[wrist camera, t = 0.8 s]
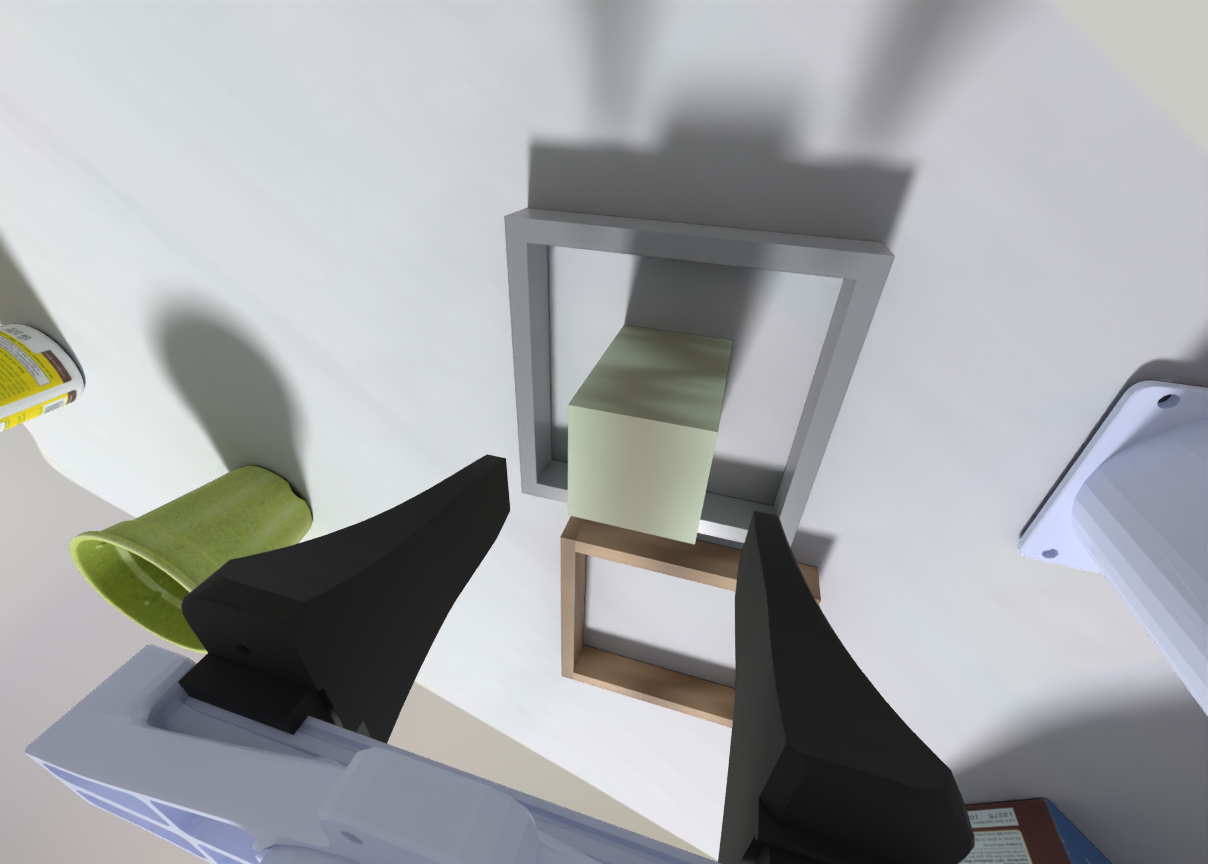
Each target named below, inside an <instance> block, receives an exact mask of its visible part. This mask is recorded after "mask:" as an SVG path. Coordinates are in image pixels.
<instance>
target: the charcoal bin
mask: <svg viewBox="0 0 1208 864" xmlns="http://www.w3.org/2000/svg"><path fill="white" fill-rule="evenodd" d="M504 219H505V235H506V251H507V266H508V282H509V298H510V313H511V329H512V345H513V361H514V376H515V392H516V408H517V423H518V439H519V455H520V470H521V486H522V493H525V494H530V495H534V496H538V497H543V498H547V499H552V500H556V501H561V502H565V503H568V463H564V462H560V461H555V460H552V454H551V402H550V350H549V299H548V247H547V245H552V246H561V247H570V248H578V249H587V250H596V251H605V252H614V253H623V254H631V255H640V256H649V257H658V258H667V259H676V260H685V261H693V262H702V263H711V264H720V265H729V266H738V267H746V268H755V269H764V270H773V271H782V272H791V273H800V274H808V275H817V276H826V277H835V278H844V281H843V284H842V287H841V291H840V294H839V297H838V300H837V303H836V307H835V310H834V313H833V316H832V320H831V323H830V326H829V329H828V332H827V336H826V339H825V342H824V345H823V349H822V352H821V355H820V358H819V361H818V365H817V368H816V371H815V374H814V377H813V381H812V384H811V387H810V390H809V394H808V397H807V400H806V403H805V406H804V410H803V413H802V416H801V419H800V423H799V426H798V429H797V432H796V435H795V439H794V442H793V445H792V448H791V452H790V455H789V458H788V461H787V464H786V468H785V471H784V474H783V477H782V481H781V484H780V487H779V490H778V493H777V497H776V500H775V503H774V506H770V505H765V504H761V503H756V502H751V501H746V500H741V499H737V498H732V497H727V496H722V495H717V494H713V493H708V492H706V493H705V498H704V503H703V508H702V512H701V517H700V522H699V527H698V532H697V533H702V534H706V535H711V536H715V537H719V538H724V539H728V540H733V541H737V542H741V543H745V539H746V536H747V532H748V529H749V525H750V522H751V518H752V514H753V511H758V512H762V513H767V514H772V515H777V516H778V517H779V519H780V520H781V524H782V527H783V530H784V532H785V535H786V538H787V540H788V543H789V545H790V548H791V545H792V542H793V539H794V536H795V534H796V531H797V528H798V525H799V523H800V520H801V517H802V514H803V511H804V509H805V506H806V503H807V500H808V497H809V495H810V492H811V489H812V486H813V483H814V481H815V478H816V475H817V472H818V469H819V467H820V464H821V461H822V458H823V455H824V453H825V450H826V447H827V444H828V441H829V439H830V436H831V433H832V430H833V428H834V425H835V422H836V419H837V416H838V414H839V411H840V408H841V405H842V402H843V400H844V397H845V394H846V391H847V388H848V386H849V383H850V380H851V377H852V374H853V372H854V369H855V366H856V363H857V360H858V358H859V355H860V352H861V349H862V346H863V344H864V341H865V338H866V335H867V333H868V330H869V327H870V324H871V321H872V319H873V316H874V313H875V310H876V307H877V305H878V302H879V299H880V296H881V293H882V291H883V288H884V285H885V282H886V279H887V277H888V274H889V271H890V268H891V265H892V263H893V260H894V257H895V256H894V255H893V254H892V253H891V251H890V250H889V249H888V248H887V247H886V246H885V245H884V244H883V243H882V242H873V241H862V240H852V239H842V238H832V237H821V236H811V235H801V234H790V233H780V232H770V231H760V230H749V229H739V228H729V227H719V226H708V225H698V224H688V223H677V222H667V221H657V220H647V219H636V218H626V217H616V216H606V215H595V214H585V213H575V212H564V211H554V210H544V209H534V208H525V209H523V210H520V211H517V212H515V213H512V214H509V215H506V216H504Z"/></svg>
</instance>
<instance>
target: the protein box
mask: <svg viewBox="0 0 1208 864" xmlns="http://www.w3.org/2000/svg"><path fill="white" fill-rule="evenodd" d="M965 807H966V809H967V812H968V816H969V819H970V822H971V826H972V829H973V833H974V837H975V847H974V848H973V849H972V851H971V852H970V853H969V855H968V856H967V857H966V858H965V859H964V860H962V861H961V862H960V863H959V864H1111V863H1110V862H1109V861H1108V860H1107V859H1106V858H1105V856H1104V855H1103V854H1102V853H1101V852H1100V851H1099V850H1098V849H1097V848H1096V847H1095V846H1094V845H1093V844H1092V843H1091V842H1090V841H1089V840H1088V839H1087V838H1086V837H1085V836H1084V835H1083V834H1082V833H1081V832H1080V831H1079V830H1078V829H1077V828H1076V827H1075V826H1074V825H1073V824H1072V823H1071V822H1070V821H1069V820H1068V819H1067V818H1066V817H1065V816H1064V815H1063V814H1062V813H1061V812H1060V811H1059V810H1058V809H1057V808H1056V807H1055V806H1054V805H1053V804H1052V803H1051V802H1050V801H1049V800H1047V799H1032V800H1023V801H1011V802H1000V803H990V804H980V805H970V806H965Z"/></svg>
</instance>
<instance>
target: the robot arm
mask: <svg viewBox="0 0 1208 864" xmlns="http://www.w3.org/2000/svg"><path fill="white" fill-rule="evenodd" d="M1169 394H1172V395H1171V397H1170V398H1169V399H1168V400H1167V401H1164V402H1162V403H1158V401H1159V399H1161V398H1162V397H1163V396H1166V395H1169ZM509 512H510V502H509V490H508V478H507V466H506V458H501V457H496V456H492V455H486V456H484V457H482V458H480V459H478V460H477V461H475V462H473V463H472V464H470V465H468V466H467V467H465V468H463V469H462V470H460V471H458V472H457V473H455V474H454V475H452V476H450V477H448V478H447V479H445V480H443V481H442V482H440V483H438V484H437V485H435V486H433V487H431V488H430V489H428V490H426V491H424V492H422V493H420V494H419V495H417V496H415V497H413V498H411V499H409V500H407V501H405V502H404V503H402V504H400V505H398V506H396V507H394V508H392V509H390V510H387V511H385V512H383V513H381V514H379V515H376V516H374V517H372V518H369V519H367V520H365V521H362V522H360V523H357V524H355V525H352V526H349V527H346V528H344V529H341V530H338V531H335V532H333V533H330V534H327V535H324V536H321V537H318V538H315V539H312V540H308V541H305V542H302V543H298V544H295V545H291V546H287V547H284V548H280V549H276V550H272V551H268V552H263V553H259V554H254V555H250V556H245V557H241V558H236V559H231V560H229V561H228V562H226V563H225V564H224V565H223V566H221V567H220V568H219V569H218V570H217V571H215V572H214V573H213V574H212V575H211V576H209V577H208V578H207V579H206V580H204V581H203V582H202V583H201V584H200V585H198V586H197V587H196V588H195V589H193V590H192V591H191V592H190V593H189V594H187V595H186V596H185V597H184V598H183V601H182V605H181V608H182V613H183V616H184V617H185V619H186V621H187V623H188V624H189V626H190V627H191V629H192V630H193V632H194V633H195V635H196V636H197V637H198V639H199V640H200V642H201V643H202V645H203V646H204V648H205V649H206V651H207V652H208V654H207V655H206V656H205V657H204V658H203V659H201V660H200V661H199V662H198V663H197V664H196V663H195V662H194V661H192V660H191V659H189V658H187V657H185V656H183V655H181V654H178V653H175V652H172V651H169V650H167V649H164V648H161V647H158V646H155V645H152V644H151V645H146V646H145V647H144V648H143V649H142V650H140V651H139V652H138V653H137V654H136V655H135V656H133V657H132V658H131V659H130V660H129V661H128V662H126V663H125V664H124V665H123V666H122V667H120V668H119V669H118V670H117V671H116V672H114V674H112V675H111V676H110V677H109V678H107V679H106V680H105V681H104V682H103V683H102V684H101V685H99V686H98V687H97V688H96V689H94V690H93V691H92V692H91V693H90V694H89V695H87V696H86V697H85V698H84V699H83V700H81V701H80V702H79V703H78V704H77V705H76V706H74V707H73V708H72V709H71V710H70V711H69V712H67V713H66V714H65V715H64V716H63V717H62V718H60V719H59V720H58V721H57V722H56V723H54V724H53V725H52V726H51V727H50V728H48V729H47V730H46V731H45V732H44V733H43V734H41V735H40V736H39V737H38V738H37V739H36V740H34V741H33V742H32V743H31V744H30V745H28V746H27V747H26V750H25V754H27V755H28V756H29V757H31V758H32V759H33V760H34V761H36V762H37V763H38V764H39V765H41V766H42V767H43V768H45V769H46V770H47V771H49V772H50V773H51V774H52V775H54V776H55V777H56V778H57V779H59V780H60V781H61V782H62V783H64V784H65V785H66V786H68V787H69V788H70V789H72V790H73V791H74V792H75V793H77V794H78V795H79V796H80V797H82V798H83V799H84V800H85V801H87V802H88V803H90V804H91V805H93V806H96V807H98V808H100V809H102V810H105V811H106V812H109V813H111V814H113V815H115V816H117V817H120V818H122V819H124V820H126V821H128V822H130V823H132V824H134V825H136V826H138V827H140V828H142V829H144V830H146V831H148V832H150V833H152V834H154V835H156V836H158V837H161V838H162V839H164V840H166V841H168V842H170V843H172V844H174V845H176V846H178V847H180V848H182V849H184V850H186V851H188V852H190V853H192V854H194V855H195V856H198V857H199V858H201V859H203V860H205V861H207V862H209V863H211V864H959V863H960V862H961V861H962V860H964V859H965V858H966V857H967V856H968V855H969V853H970V852H971V851H972V849H973V848H974V847H975V837H974V833H973V829H972V826H971V822H970V819H969V816H968V812H967V809H966V807H965V804H964V801H963V799H962V796H961V794H960V791H959V789H958V786H957V784H956V781H955V779H954V777H953V774H952V771H951V770H950V769H949V768H948V767H947V766H946V765H945V764H944V763H943V762H942V761H941V760H940V759H939V758H938V757H937V756H936V755H935V754H934V753H933V752H932V750H931V749H930V748H929V747H928V746H927V745H926V744H925V743H924V742H923V741H922V740H921V739H920V738H919V737H918V736H917V735H916V734H915V733H914V732H913V731H912V730H911V729H910V728H909V727H908V726H907V725H906V724H905V722H904V721H903V720H902V719H901V718H900V717H899V716H898V714H897V713H896V712H895V711H894V710H893V709H892V708H891V707H890V705H889V704H888V703H887V702H886V701H885V700H884V698H883V697H882V696H881V695H880V693H879V692H878V691H877V689H876V688H875V687H874V686H873V684H872V683H871V682H870V681H869V679H868V678H867V677H866V676H865V674H864V673H863V672H862V671H861V669H860V668H859V667H858V665H857V664H856V663H855V661H854V660H853V658H852V657H851V655H850V654H849V653H848V651H847V650H846V648H845V647H844V646H843V644H842V643H841V641H840V639H839V638H838V636H837V635H836V633H835V632H834V630H833V629H832V627H831V626H830V624H829V622H828V621H827V619H826V617H825V616H824V614H823V612H822V611H821V609H820V607H819V605H818V603H817V602H816V600H815V598H814V596H813V594H812V592H811V590H810V589H809V587H808V585H807V583H806V581H805V579H804V576H803V574H802V572H801V570H800V568H799V566H798V564H797V562H796V560H795V557H794V555H793V553H792V550H791V548H790V545H789V543H788V540H787V538H786V535H785V532H784V530H783V527H782V524H781V520H780V519H779V517H778V516H777V515H772V514H767V513H762V512H758V511H753V514H752V518H751V522H750V525H749V529H748V532H747V536H746V539H745V543H744V546H743V550H742V553H741V557H740V560H739V565H738V574H737V583H736V593H735V656H736V683H735V701H734V713H733V724H732V736H731V746H730V757H729V767H728V777H727V786H726V796H725V805H724V815H723V824H722V832H721V841H720V850H719V859H718V862H715V861H713V860H710V859H707V858H704V857H702V856H699V855H696V854H693V853H690V852H688V851H685V850H682V849H679V848H676V847H674V846H671V845H668V844H665V843H662V842H659V841H657V840H654V839H651V838H648V837H645V836H643V835H640V834H637V833H635V832H632V831H629V830H626V829H623V828H621V827H617V826H615V825H612V824H609V823H607V822H604V821H601V820H598V819H595V818H593V817H590V816H587V815H584V814H581V813H579V812H576V811H573V810H570V809H568V808H565V807H562V806H559V805H556V804H553V803H551V802H548V801H545V800H542V799H540V798H537V797H534V796H531V795H528V794H526V793H523V792H520V791H517V790H514V789H511V788H509V787H506V786H503V785H501V784H498V783H495V782H492V781H489V780H487V779H484V778H481V777H478V776H475V775H473V774H469V773H467V772H464V771H461V770H458V769H456V768H453V767H450V766H447V765H445V764H442V763H439V762H436V761H433V760H431V759H428V758H425V757H422V756H419V755H417V754H414V753H411V752H408V751H406V750H403V749H400V748H397V747H394V746H391V745H389V744H387V742H388V740H389V737H390V735H391V732H392V730H393V728H394V725H395V723H396V721H397V718H398V716H399V713H400V711H401V709H402V707H403V705H404V702H405V700H406V698H407V696H408V694H409V691H410V689H411V687H412V685H413V683H414V681H415V678H416V676H417V674H418V672H419V670H420V668H421V666H422V664H423V662H424V660H425V658H426V656H427V654H428V652H429V650H430V647H431V645H432V643H433V641H434V639H435V638H436V636H437V634H438V632H439V630H440V628H441V626H442V624H443V622H444V620H445V618H446V617H447V615H448V613H449V611H450V609H451V608H452V606H453V604H454V603H455V601H456V599H457V598H458V596H459V595H460V593H461V592H462V590H463V589H464V587H465V586H466V584H467V583H468V581H469V580H470V578H471V577H472V575H473V574H474V572H475V571H476V569H477V568H478V566H479V565H480V563H481V562H482V560H483V559H484V557H485V556H486V554H487V553H488V551H489V550H490V548H491V546H492V545H493V543H494V542H495V540H496V539H497V537H498V535H499V533H500V531H501V529H502V527H503V525H504V522H505V520H506V518H507V516H508V514H509ZM1017 547H1018V549H1019V551H1020V553H1021V554H1022V555H1023V556H1024V557H1027V558H1029V559H1034V560H1039V561H1044V562H1049V563H1053V564H1058V565H1063V566H1068V567H1073V568H1077V569H1082V570H1087V571H1092V572H1097V573H1101V574H1103V575H1104V576H1105V578H1106V579H1107V580H1108V582H1109V583H1110V584H1111V586H1112V587H1113V588H1114V590H1115V591H1116V592H1117V594H1118V595H1119V597H1120V598H1121V599H1122V601H1123V602H1124V603H1125V605H1126V606H1127V607H1128V609H1129V610H1130V611H1131V613H1132V614H1133V616H1134V617H1135V618H1136V620H1137V621H1138V622H1139V624H1140V625H1141V626H1142V628H1143V629H1144V631H1145V632H1146V633H1147V635H1148V636H1149V637H1150V639H1151V640H1152V641H1153V643H1154V644H1155V645H1156V647H1157V648H1158V650H1159V651H1160V652H1161V654H1162V655H1163V656H1164V658H1165V659H1166V660H1167V662H1168V663H1169V664H1170V666H1171V667H1172V669H1173V670H1174V671H1175V673H1176V674H1177V675H1178V677H1179V678H1180V679H1181V681H1182V682H1183V683H1184V685H1185V686H1186V688H1187V689H1188V690H1189V692H1190V693H1191V694H1192V696H1193V697H1194V698H1195V700H1196V701H1197V702H1198V704H1199V705H1200V707H1201V708H1202V709H1203V711H1204V712H1205V713H1206V715H1207V716H1208V388H1205V387H1197V386H1190V385H1183V384H1175V383H1168V382H1161V381H1154V380H1153V381H1142V382H1138V383H1136V384H1134V385H1133V386H1131V387H1130V388H1129V389H1128V390H1127V391H1126V392H1125V393H1124V394H1123V396H1122V397H1121V399H1120V400H1119V401H1118V403H1117V404H1116V406H1115V407H1114V408H1113V410H1112V411H1111V413H1110V414H1109V415H1108V417H1107V418H1106V420H1105V421H1104V422H1103V424H1102V425H1101V427H1100V428H1099V429H1098V431H1097V432H1096V434H1095V435H1094V436H1093V438H1092V439H1091V441H1090V442H1089V443H1088V445H1087V446H1086V448H1085V449H1084V450H1083V452H1082V453H1081V455H1080V456H1079V457H1078V459H1077V460H1076V462H1075V463H1074V464H1073V466H1072V467H1071V469H1070V470H1069V471H1068V473H1067V474H1066V476H1065V477H1064V478H1063V480H1062V481H1061V483H1060V484H1059V485H1058V487H1057V488H1056V490H1055V491H1054V492H1053V494H1052V495H1051V497H1050V498H1049V499H1048V501H1047V502H1046V504H1045V505H1044V506H1043V508H1042V509H1041V511H1040V512H1039V513H1038V515H1037V516H1036V518H1035V519H1034V520H1033V522H1032V523H1031V525H1030V526H1029V527H1028V529H1027V530H1026V532H1025V533H1024V535H1023V536H1022V537H1021V539H1020V540H1019V542H1018V544H1017ZM1047 549H1051V550H1050V551H1045V550H1047Z"/></svg>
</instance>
